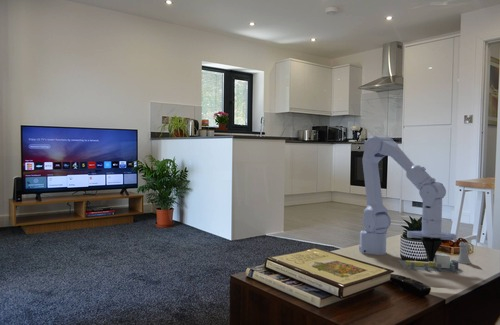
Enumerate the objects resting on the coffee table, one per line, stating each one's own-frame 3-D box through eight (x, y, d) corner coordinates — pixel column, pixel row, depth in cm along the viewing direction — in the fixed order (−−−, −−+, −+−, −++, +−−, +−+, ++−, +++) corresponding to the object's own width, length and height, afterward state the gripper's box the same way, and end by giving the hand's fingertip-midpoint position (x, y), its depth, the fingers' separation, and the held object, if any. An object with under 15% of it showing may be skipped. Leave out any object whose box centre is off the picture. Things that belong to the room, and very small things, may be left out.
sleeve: (436, 267, 119) (436, 256, 119) (432, 263, 123) (432, 252, 123) (449, 268, 118) (450, 256, 118) (445, 264, 122) (445, 253, 122)
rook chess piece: (469, 264, 128) (470, 241, 128) (472, 268, 124) (473, 244, 124) (454, 263, 130) (455, 240, 129) (457, 266, 125) (458, 243, 125)
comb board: (404, 272, 118) (404, 261, 118) (397, 263, 128) (398, 253, 128) (462, 276, 115) (462, 265, 115) (450, 267, 125) (451, 257, 125)
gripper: (411, 220, 118) (409, 262, 118) (460, 222, 116) (458, 266, 116) (406, 216, 125) (404, 256, 125) (452, 219, 123) (450, 259, 123)
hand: (430, 260), depth 121 cm, fingers closed
